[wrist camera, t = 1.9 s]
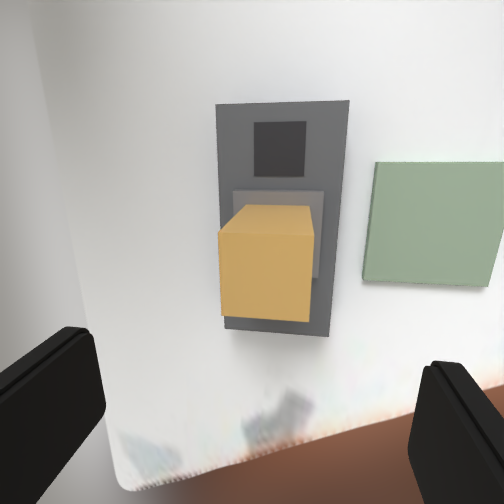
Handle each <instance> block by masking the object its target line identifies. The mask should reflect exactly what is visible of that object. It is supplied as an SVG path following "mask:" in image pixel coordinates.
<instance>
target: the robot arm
mask: <svg viewBox="0 0 504 504" xmlns="http://www.w3.org/2000/svg"><path fill="white" fill-rule="evenodd" d="M105 410H106V401H105V395H104V390H103V385H102V380H101V374H100V369H99V364H98V359H97V353H96V348H95V343H94V338H93V336H92V334H90V333H89V331H88V330H87V329H86V328H79V327H64V328H62V329H61V330H60V331H58V332H57V333H55V334H54V335H53V336H51V337H50V338H48V339H47V340H45V341H44V342H43V343H41V344H40V345H38V346H37V347H36V348H34V349H33V350H31V351H30V352H29V353H27V354H26V355H25V356H23V357H22V358H20V359H19V360H17V361H16V362H15V363H14V364H12V365H11V366H9V367H8V368H6V369H5V370H4V371H2V372H1V373H0V504H36V502H37V501H38V500H39V499H40V497H41V496H42V495H43V494H44V492H45V491H46V490H47V488H48V487H49V486H50V485H51V483H52V482H53V481H54V479H55V478H56V477H57V475H58V474H59V473H60V471H61V470H62V469H63V467H64V466H65V465H66V464H67V462H68V461H69V460H70V458H71V457H72V456H73V455H74V453H75V452H76V451H77V449H78V448H79V447H80V446H81V444H82V443H83V442H84V440H85V439H86V438H87V436H88V435H89V434H90V433H91V431H92V430H93V429H94V427H95V426H96V425H97V423H98V422H99V421H100V419H101V418H102V417H103V415H104V413H105ZM408 455H409V460H410V464H411V466H412V469H413V472H414V475H415V478H416V480H417V484H418V486H419V489H420V492H421V495H422V498H423V501H424V503H425V504H504V418H503V417H502V416H501V415H500V413H499V412H498V411H497V409H496V408H495V407H494V405H493V404H492V403H491V401H490V400H489V399H488V398H487V396H486V395H485V394H484V392H483V391H482V390H481V388H480V387H479V386H478V385H477V383H476V382H475V381H474V379H473V378H472V377H471V375H470V374H469V373H468V372H467V370H466V369H465V368H464V366H463V365H462V364H460V363H455V362H445V361H433V362H432V363H431V366H425V367H424V369H423V373H422V378H421V383H420V388H419V393H418V398H417V403H416V408H415V413H414V417H413V422H412V428H411V432H410V437H409V442H408Z"/></svg>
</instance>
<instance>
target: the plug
mask: <svg viewBox="0 0 504 504" xmlns="http://www.w3.org/2000/svg"><path fill="white" fill-rule="evenodd" d="M323 201H324V191H323V190H245V189H235V190H234V191H233V218H232V219H231V220H230V221H229V222H228V223H227V224H226V225H225V226H224V227H223V228H222V229H221V230H220V231H219V232H218V247H219V269H220V292H221V314H222V316H233V317H246V318H259V319H273V320H286V321H299V322H309V314H310V298H311V282H312V278H318V273H319V259H320V244H321V230H322V216H323Z"/></svg>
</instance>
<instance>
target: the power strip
mask: <svg viewBox="0 0 504 504" xmlns="http://www.w3.org/2000/svg"><path fill="white" fill-rule="evenodd" d="M349 101H350V100H344V101H311V102H279V103H246V104H215V105H216V129H217V153H218V178H219V202H220V226H221V229H222V228H223V227H224V226H225V225H226V224H227V223H228V222H229V221H230V220H231V219H232V218H233V191H234V190H235V189H245V190H323V191H324V201H323V216H322V230H321V244H320V259H319V273H318V278H312V282H311V298H310V314H309V322H299V321H286V320H273V319H259V318H246V317H233V316H224V323H225V329H236V330H248V331H260V332H273V333H285V334H297V335H309V336H322V337H329V328H330V317H331V306H332V294H333V283H334V272H335V260H336V249H337V238H338V226H339V215H340V203H341V192H342V181H343V169H344V158H345V147H346V135H347V124H348V113H349Z"/></svg>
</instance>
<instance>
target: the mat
mask: <svg viewBox="0 0 504 504" xmlns="http://www.w3.org/2000/svg"><path fill="white" fill-rule="evenodd" d="M503 229H504V162H376V163H375V172H374V180H373V188H372V197H371V205H370V213H369V222H368V230H367V238H366V246H365V255H364V263H363V271H362V278H363V280H369V281H388V282H406V283H425V284H444V285H462V286H481V287H488V285H489V281H490V278H491V274H492V270H493V267H494V263H495V259H496V255H497V252H498V248H499V244H500V241H501V237H502V233H503Z"/></svg>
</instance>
